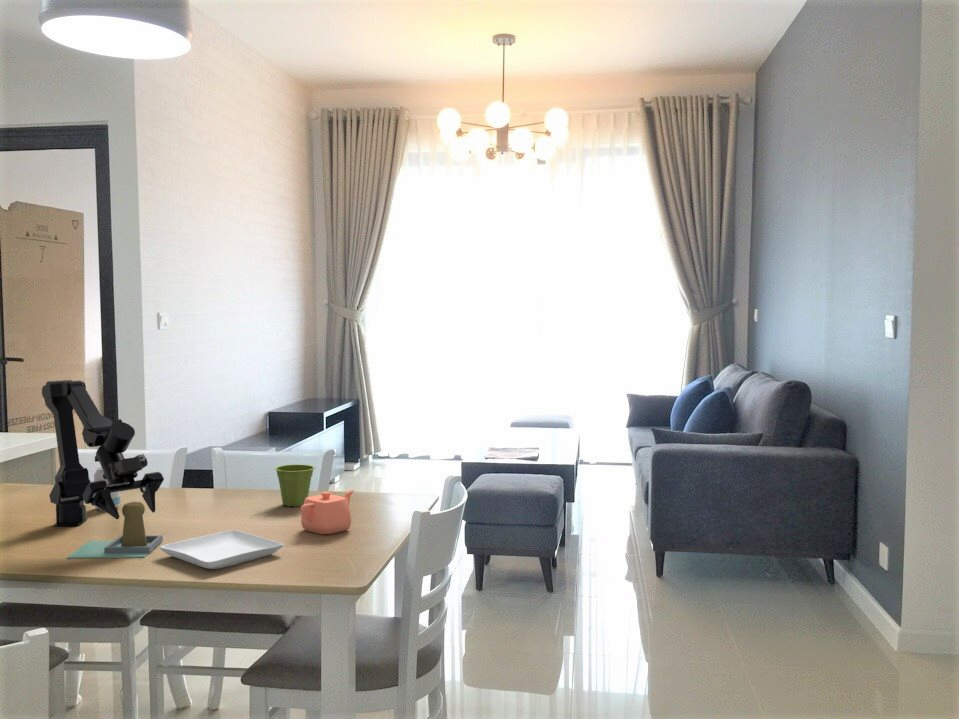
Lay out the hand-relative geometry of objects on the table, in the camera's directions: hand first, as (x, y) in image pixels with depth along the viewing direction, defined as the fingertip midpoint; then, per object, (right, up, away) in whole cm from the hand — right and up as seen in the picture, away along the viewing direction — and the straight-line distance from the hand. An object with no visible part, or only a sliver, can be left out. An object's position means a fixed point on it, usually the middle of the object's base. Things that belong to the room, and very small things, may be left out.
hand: (136, 514), depth 210 cm
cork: (-1, -8, +2) cm, 9 cm away
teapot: (+44, -8, +20) cm, 49 cm away
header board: (-5, -9, 0) cm, 10 cm away
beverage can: (-25, -6, +42) cm, 49 cm away
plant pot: (+28, -6, +49) cm, 57 cm away
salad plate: (+22, -10, -5) cm, 25 cm away
